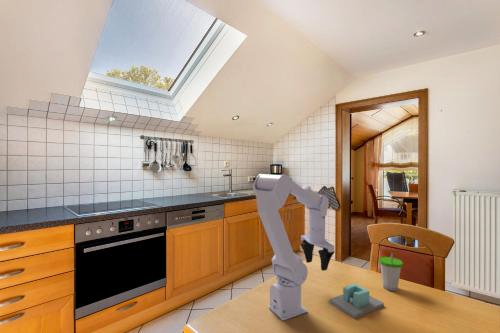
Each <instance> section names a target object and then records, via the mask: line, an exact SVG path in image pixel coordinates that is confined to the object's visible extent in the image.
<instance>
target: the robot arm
mask: <svg viewBox="0 0 500 333" xmlns="http://www.w3.org/2000/svg"><path fill="white" fill-rule="evenodd" d="M252 190H253V192H254V194H255V198H256V206H257V213H258V215H259V218H260V220H261V223H262V226H263V228H264V230H265V232H266V236H267V238H268V241H269V244H270V245H271V248H272V250H273V253H274V255H273V257H272V258H271V260H270V261H271V263H272V272H273V275H275V276H276V280H277V281H276V282H275V283H273V284H271V285H270V288H269V305H268V308H269V310H271V311H272V313H274V314H275V315H276V317H278V318H279V319H280V320H281V321H286V320H289V319H292V318H294V317H296V316H300V315H302V314H305V313H307V312H308V310H307V309H306V307H304V306H303V305H302V285H303V284H304V283H305V282H306V280H307V278H308V274H309V273H308V267H307V265H306V264H307V263H308V264H310V263H312V262H313V256H314V248H315V246H316V247H318V248H320V249H319V250H318V251H317V252H318V254H319V260H320V269H321V271H322V272H323V271H327V270H328V267H329V264H330V261H331V258H332V257H333V255H334V254H335V245H334V244H332V243H330V242H328V241H327V238H326V217H327V215H328V209H329V205H330V202H329V199H328V197H327V196H326V195H323V194H319V193H318V191H317V190H313V189H312V187H311V186H310V185H305V186H301V185H299V184H298V183H296V181H294V179H293V177H291V176H289V175H287V174H266V173H259V174H258V175H257V176H256V177H255V179H254V183H253V186H252ZM289 195H292V196H294V197H296V198H295V199H296V200H297V202H298V203H300V204H301V205H304V206H305V208H306V209H307V210H308V235H307V234H301V236H300V240H301V242H300V244H299V245H300V246H301V249H302V251H303V253H304V257H305V258H304V259H305V262H306V264H305V263H304V262H303V260H302V258H301V257H300V256H298V255H297V254H296V252H294V251H293V248H292V245H291V242H290V240H289V237H288V234H287V231H286V229H285V225H284V222H283V219H282V218H281V215H280V212H279V210H280V209H281V208H283V207H284V205H285V203H286V201H287V199H288V197H289Z"/></svg>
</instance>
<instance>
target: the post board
mask: <svg viewBox="0 0 500 333" xmlns="http://www.w3.org/2000/svg"><path fill="white" fill-rule="evenodd" d="M353 293H354V292H353ZM328 303H329V304H331V305H333V306H334V307H336V308H337V309H338V310H340V311H342V312H343V313H345V314H346V315H347V316H349V317H351V318H353V319H354V320H356V319H357V318H360V317H361V316H364V315H366V314H368V313H371V312H374V311H376V310H378V309H381V308H383V307H384V306H385V303H384V302H383V301H381V300H379V299H377V298H375V297H373V296H371V295H369V303H368V304H366V305H364V306H361V307H359V308H357V307H355V306H354V305H353V298H350V301H348V302H347V301H345V300H344V299H343V294H340V295H337V296H333V297H331V298H328Z"/></svg>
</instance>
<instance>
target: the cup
mask: <svg viewBox="0 0 500 333" xmlns="http://www.w3.org/2000/svg"><path fill="white" fill-rule="evenodd" d="M378 258H379V259H378V263H379V265H380V272H381V273H380V274H381V279H382V280H381V282H382V288H383V289H384V290H387V291H389V292H397V291H398V289H399V288H398V286H399V281H400V275H401V270H402V267H403V264H404V261H401V260H400V259H397V258H396V257H394V251H391V253H390V256H382V257H378Z"/></svg>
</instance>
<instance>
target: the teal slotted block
mask: <svg viewBox="0 0 500 333" xmlns="http://www.w3.org/2000/svg"><path fill="white" fill-rule="evenodd" d="M342 290H343V291H342V292H343V293H342V295H343V299H344V300H345V301H347V302H348V301H350V298H353V305H354V306H355V307H357V308H359V307H361V306H364V305H366V304H368V303H369V296H370V290H368V289H366V288H364V287H362V286H360V285H358V284H357V283H353V284H350V285H346V286H344V287H343V286H342ZM353 292H354V293H353Z"/></svg>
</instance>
